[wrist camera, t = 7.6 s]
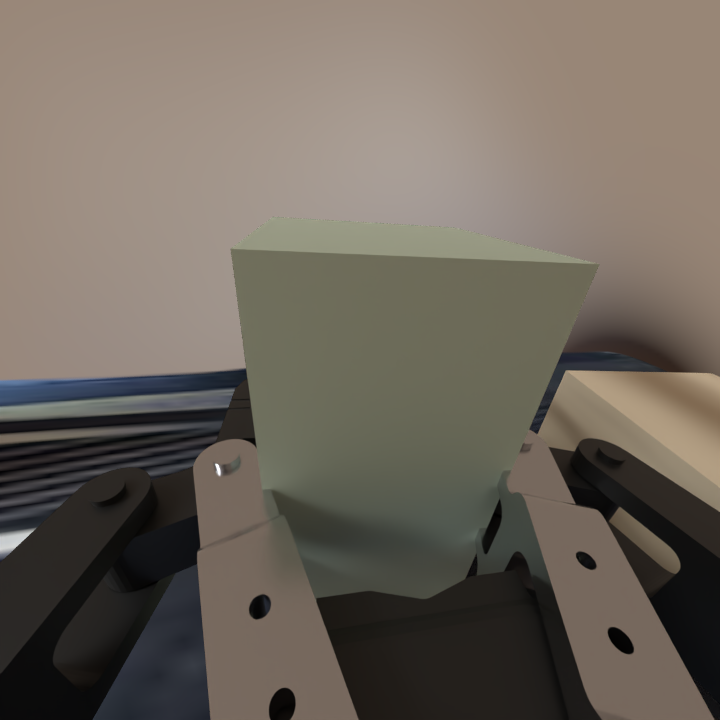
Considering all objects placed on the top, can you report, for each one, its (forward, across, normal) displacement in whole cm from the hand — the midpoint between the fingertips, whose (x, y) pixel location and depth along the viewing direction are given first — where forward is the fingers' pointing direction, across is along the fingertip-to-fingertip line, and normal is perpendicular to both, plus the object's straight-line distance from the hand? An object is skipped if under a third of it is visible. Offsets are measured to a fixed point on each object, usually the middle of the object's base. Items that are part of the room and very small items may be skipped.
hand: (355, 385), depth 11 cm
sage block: (-3, 0, +7) cm, 7 cm away
